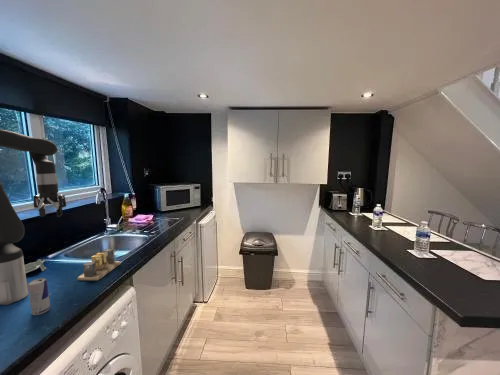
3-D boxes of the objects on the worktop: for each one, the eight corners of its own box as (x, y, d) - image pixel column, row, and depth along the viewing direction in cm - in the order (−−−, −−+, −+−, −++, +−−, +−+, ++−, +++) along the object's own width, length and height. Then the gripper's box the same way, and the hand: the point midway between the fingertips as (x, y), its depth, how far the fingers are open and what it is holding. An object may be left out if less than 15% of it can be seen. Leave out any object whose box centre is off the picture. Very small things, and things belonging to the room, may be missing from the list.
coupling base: (98, 280, 113) (96, 263, 112) (77, 280, 113) (75, 263, 112) (120, 263, 131) (119, 248, 130) (102, 263, 131) (101, 248, 130)
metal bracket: (46, 255, 131) (36, 265, 118) (51, 264, 133) (41, 275, 119) (14, 267, 126) (-1, 280, 112) (20, 276, 127) (6, 290, 114)
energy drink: (54, 306, 93) (50, 277, 92) (42, 315, 88) (38, 284, 86) (39, 307, 93) (36, 278, 92) (27, 316, 88) (23, 285, 86)
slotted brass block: (99, 261, 124) (98, 252, 124) (106, 261, 124) (105, 252, 123) (92, 266, 119) (91, 256, 119) (99, 266, 119) (99, 256, 118)
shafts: (89, 268, 113) (88, 261, 113) (85, 268, 113) (84, 261, 113) (112, 254, 130) (111, 247, 130) (108, 254, 130) (108, 247, 130)
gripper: (25, 184, 110) (30, 218, 112) (54, 183, 110) (58, 218, 111) (40, 182, 118) (44, 214, 120) (68, 182, 117) (71, 214, 119)
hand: (51, 216), depth 116 cm, fingers open, 8 cm apart
